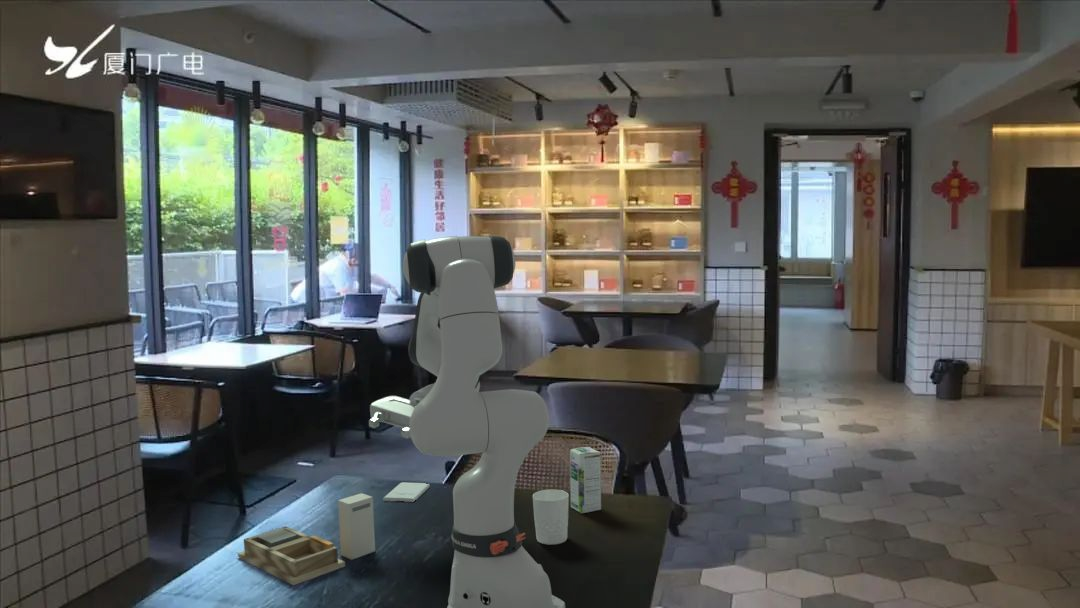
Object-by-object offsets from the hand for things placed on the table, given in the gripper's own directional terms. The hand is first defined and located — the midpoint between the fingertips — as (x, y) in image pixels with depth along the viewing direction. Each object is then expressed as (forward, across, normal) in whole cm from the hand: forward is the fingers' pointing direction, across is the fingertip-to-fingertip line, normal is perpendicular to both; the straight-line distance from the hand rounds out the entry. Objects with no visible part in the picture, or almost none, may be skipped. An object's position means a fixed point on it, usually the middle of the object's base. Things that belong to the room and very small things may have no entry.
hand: (387, 429), depth 189 cm
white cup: (-13, +34, +23) cm, 44 cm away
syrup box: (-34, +31, +27) cm, 54 cm away
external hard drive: (-22, -15, +32) cm, 42 cm away
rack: (+24, -7, +23) cm, 34 cm away
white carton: (+13, +2, +23) cm, 27 cm away
